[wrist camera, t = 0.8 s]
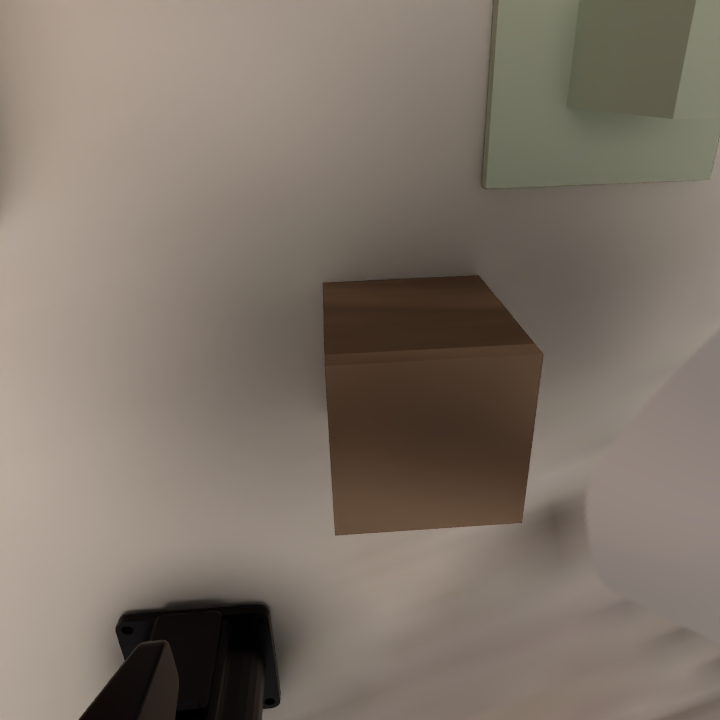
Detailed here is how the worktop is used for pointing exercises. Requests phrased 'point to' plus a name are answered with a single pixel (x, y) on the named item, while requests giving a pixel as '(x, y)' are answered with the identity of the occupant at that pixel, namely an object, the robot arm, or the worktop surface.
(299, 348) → the worktop surface
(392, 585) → the worktop surface
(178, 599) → the worktop surface
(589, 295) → the worktop surface
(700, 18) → the post
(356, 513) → the brown rectangular block
